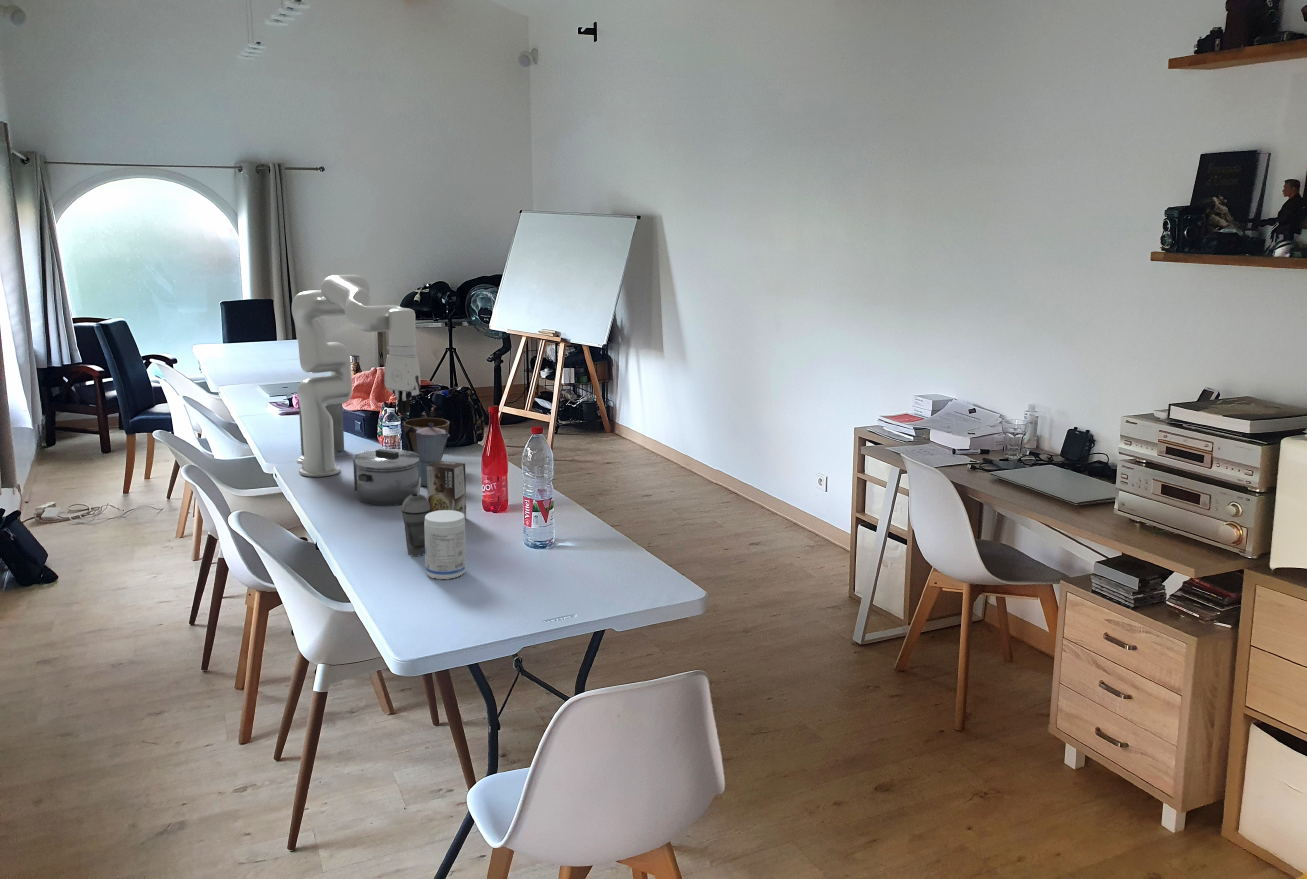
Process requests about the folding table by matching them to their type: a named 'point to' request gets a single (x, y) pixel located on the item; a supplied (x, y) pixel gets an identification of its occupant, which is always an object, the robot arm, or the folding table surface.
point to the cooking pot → (385, 485)
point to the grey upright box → (338, 432)
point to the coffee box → (447, 486)
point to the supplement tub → (444, 544)
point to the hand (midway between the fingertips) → (403, 412)
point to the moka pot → (427, 447)
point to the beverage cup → (415, 521)
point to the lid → (386, 459)
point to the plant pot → (425, 424)
